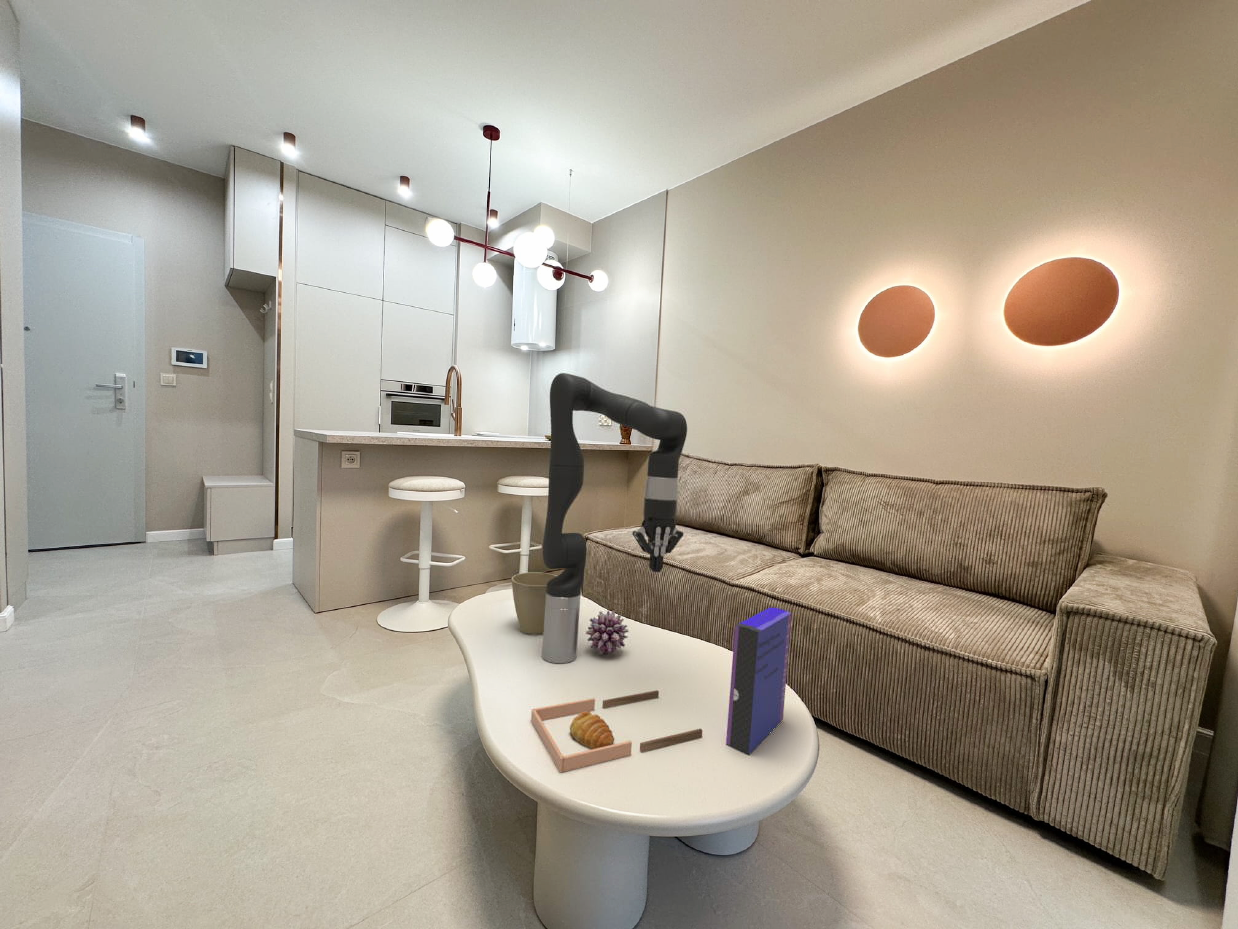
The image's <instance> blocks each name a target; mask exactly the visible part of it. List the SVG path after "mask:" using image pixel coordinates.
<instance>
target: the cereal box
mask: <svg viewBox="0 0 1238 929" xmlns="http://www.w3.org/2000/svg"><path fill="white" fill-rule="evenodd" d="M791 622H792V612H790V611H787V610H785V609H781V608H777V607H776V608H775V607H772V606H771V607H768V608H766V609H764V610H762V611H760V612H758V613H756V614H754V615H752V616H750V617H749V618H747V619H745V620H743V621H740V622H739V623H737V624H735V625H734V636H733V647H732V648H733V649H732V661H731V663H732V664H731V673H730V674H731V676H730V688H729V700H728V715H727V726H726V727H727V728H726V739H725V746H728V747H730V748H732V749H734V750H736V751H739V752H740V753H742V754H744V755H747V756H750V755H751V754H752V753H753V752H754V751H755V750H756V749H757V748H758V747H759V746H760V745H761V744H762V743H763V742H764V741H765V740H766V738H768V737H769V736H770V735H771V733H773V732H774V730H775V729H777V727H778V726H779V725H780V724H781V723H782V722H783V721H784V711H785V698H786V697H785V696H786V686H787V673H788V662H789V661H788V659H789V650H790V649H789V648H790V634H791V625H792V624H791ZM782 720H783V721H782ZM781 721H782V722H781ZM780 722H781V723H780ZM779 723H780V724H779ZM778 724H779V725H778ZM777 725H778V726H777ZM776 726H777V727H776ZM774 728H775V729H774ZM773 729H774V730H773ZM770 732H771V733H770ZM764 739H765V740H764ZM763 740H764V741H763ZM762 741H763V742H762ZM761 742H762V743H761Z"/></svg>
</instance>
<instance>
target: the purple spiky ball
mask: <svg viewBox="0 0 1238 929" xmlns="http://www.w3.org/2000/svg"><path fill="white" fill-rule="evenodd" d="M615 612H616V611H615V610H612V611H611V613H610V610H607V611H606V614H605V613H603V611H602V610H601V611H599V612H598V613H599V614H597V617H598V618H596V617H594V616H593V618H592V617H591V618H590V619H589V621H590V622H591V623H590V626H588V627H587V629H588V630H586V631H585V632H586V633H585V634H586V635H589V636H590V637H589V638H587V641H588V642H592V643H591V644H590V648H593V649H594V650H595V651H596V650H597V649H598V650H599V655H603V654H604V655H607V654H608V652H609V653H612V655H615V654H616V651H617V648H618V649H620V650H621V648H624V647H625V646H626V644H625V642H624V640H625V639H627V638H628V635H625V634H626V633H629V628H628V627H629V626H628V624H622V623H623V621H624V620H625V619H624V618H621V617H622V615H621V614H618V615H617V616H615V615H616V614H615Z"/></svg>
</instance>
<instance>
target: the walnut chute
mask: <svg viewBox="0 0 1238 929" xmlns="http://www.w3.org/2000/svg"><path fill="white" fill-rule="evenodd" d="M659 693H660V691H659V690H658V689H656V690H650V691H646V692H640V693H635V694H629V695H624V696H619V697H614V698H608V699H604V700H602V709H608V708H612V707H617V706H623V705H628V704H629V705H630V704H634V703H638V702H645V701H649V700H654V699H659V696H660V695H659ZM701 738H703V729H702V728H701V727H700V728H696V729H694V730H693V729H692V730H688V731H685V732H679V733H675V734H672V735H668V736H664V737H659V738H655V739H652V740H651V739H650V740H647V741H643V742H639V751H640V753H644V752H645V753H646V752H649V751H653V750H656V749H662V748H666V747H669V746H673V745H678V744H681V743H684V742H689V741H693V740H697V739H701Z"/></svg>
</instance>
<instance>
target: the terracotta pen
mask: <svg viewBox="0 0 1238 929" xmlns="http://www.w3.org/2000/svg"><path fill="white" fill-rule="evenodd" d="M595 703H596V699H595V697H593V698H587V699H581V700H575V701H570V702H565V703H558V704H555V705H554V704H553V705H548V706H544V707H543V706H542V707H537V708H532V709H531V712H530V713H531V715H530V721H531V723H532V725H533V727H534V728H535V729H534V730H536V733H537V734H538V736H539V738H540V740H541V741H542V743H543V744H544V747H545V748H546V750H547V752H548V754H549V755H550V757H551V759H552V761H553V762H554V765H555V766H556V768H557V769H558V771H559V773H560V774H562V773H565V772H569V771H572V770H573V771H574V770H577V769H581V768H584V767H589V766H593V765H596V764H601V763H605V762H609V761H612V760H613V761H614V760H617V759H620V758H625V757H630V756H631V755H632V748H633V747H632V746H633V745H632V744H633V743H632V741H631V740H627V741H623V742H618V743H615V744H614V743H613V745H609V746H605V747H601V748H597V749H589V750H585V751H580V752H576V753H571V754H568V755H567V754H566V755H563V754H562V752H561V750H560V749H559V746H558V745H557V743H556V742H555V740H554V739H553V737H552V734H550V732H549V730H548V729H547V727H546V726H545V723H544V722H543V721H546V720H551V719H556V718H561V717H567V716H572V715H579V714H580V713H581V712H585V711H588V712H594V711H595V706H596V704H595Z"/></svg>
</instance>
